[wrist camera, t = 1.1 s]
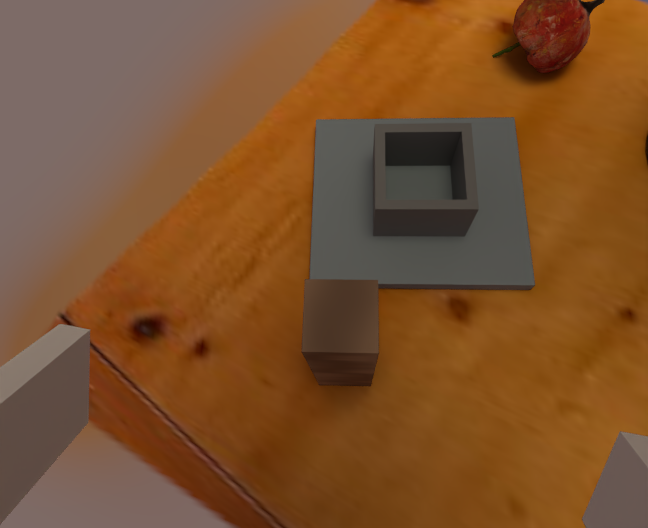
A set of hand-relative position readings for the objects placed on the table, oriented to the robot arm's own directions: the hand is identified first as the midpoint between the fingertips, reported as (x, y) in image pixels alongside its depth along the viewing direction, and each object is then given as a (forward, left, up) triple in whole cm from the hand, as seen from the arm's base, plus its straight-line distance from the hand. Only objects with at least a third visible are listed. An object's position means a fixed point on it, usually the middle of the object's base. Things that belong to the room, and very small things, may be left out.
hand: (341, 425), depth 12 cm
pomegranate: (-18, -36, -27) cm, 48 cm away
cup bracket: (-6, -20, -27) cm, 34 cm away
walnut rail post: (0, -6, -27) cm, 28 cm away
